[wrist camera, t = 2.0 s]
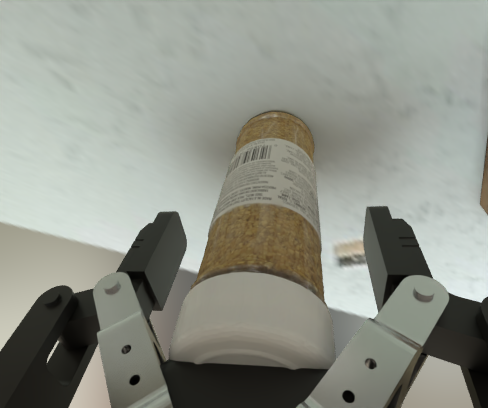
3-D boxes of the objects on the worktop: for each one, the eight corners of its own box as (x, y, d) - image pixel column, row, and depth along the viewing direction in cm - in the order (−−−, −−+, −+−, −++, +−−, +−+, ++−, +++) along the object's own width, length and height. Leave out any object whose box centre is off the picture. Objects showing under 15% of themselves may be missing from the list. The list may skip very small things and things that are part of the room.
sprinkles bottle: (249, 184, 21) (200, 418, 10) (226, 118, 18) (131, 340, 8) (321, 170, 20) (348, 422, 9) (307, 98, 17) (322, 330, 7)
